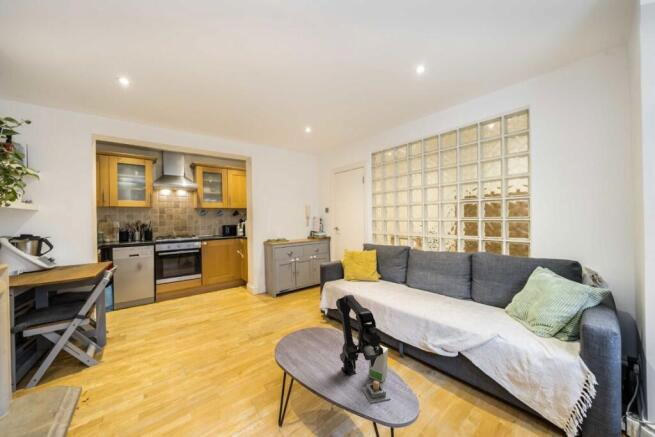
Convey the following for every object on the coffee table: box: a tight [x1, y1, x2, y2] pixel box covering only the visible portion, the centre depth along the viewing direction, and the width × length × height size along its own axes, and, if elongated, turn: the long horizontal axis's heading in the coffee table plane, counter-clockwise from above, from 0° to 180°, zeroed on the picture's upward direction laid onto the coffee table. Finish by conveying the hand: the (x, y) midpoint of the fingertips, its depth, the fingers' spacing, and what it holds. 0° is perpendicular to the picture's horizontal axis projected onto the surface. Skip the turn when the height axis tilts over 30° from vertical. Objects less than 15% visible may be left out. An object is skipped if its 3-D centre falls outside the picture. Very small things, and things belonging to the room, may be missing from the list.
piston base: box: [362, 380, 391, 404], centre depth 120 cm, size 10×10×6 cm
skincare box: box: [368, 344, 389, 383], centre depth 133 cm, size 8×7×16 cm
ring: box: [365, 381, 387, 399], centre depth 120 cm, size 7×7×2 cm
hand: (363, 368), depth 122 cm, fingers open, 9 cm apart
